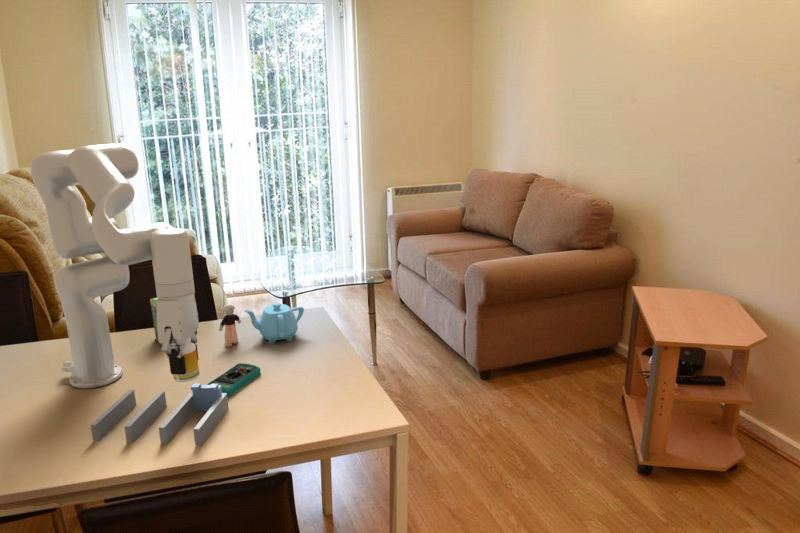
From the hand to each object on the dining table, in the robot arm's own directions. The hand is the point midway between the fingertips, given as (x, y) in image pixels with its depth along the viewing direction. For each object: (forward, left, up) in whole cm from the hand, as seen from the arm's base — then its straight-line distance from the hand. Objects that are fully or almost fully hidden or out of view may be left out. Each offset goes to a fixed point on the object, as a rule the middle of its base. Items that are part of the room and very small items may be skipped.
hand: (185, 366), depth 130 cm
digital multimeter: (+1, +23, -16) cm, 28 cm away
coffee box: (-31, +48, -16) cm, 59 cm away
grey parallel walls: (-8, +2, -15) cm, 17 cm away
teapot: (+3, +53, -16) cm, 55 cm away
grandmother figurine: (-9, +48, -16) cm, 51 cm away
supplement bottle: (0, 0, -3) cm, 3 cm away
